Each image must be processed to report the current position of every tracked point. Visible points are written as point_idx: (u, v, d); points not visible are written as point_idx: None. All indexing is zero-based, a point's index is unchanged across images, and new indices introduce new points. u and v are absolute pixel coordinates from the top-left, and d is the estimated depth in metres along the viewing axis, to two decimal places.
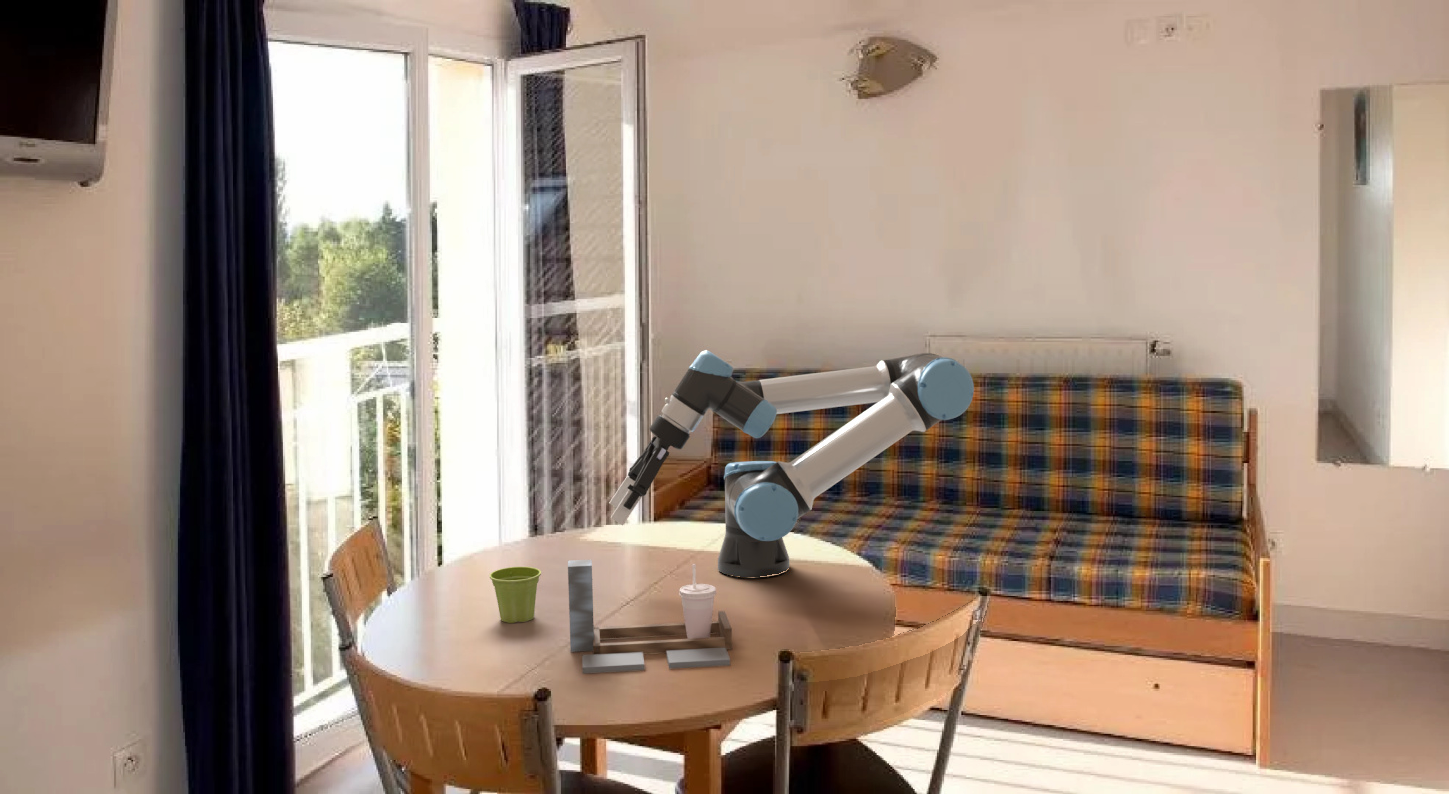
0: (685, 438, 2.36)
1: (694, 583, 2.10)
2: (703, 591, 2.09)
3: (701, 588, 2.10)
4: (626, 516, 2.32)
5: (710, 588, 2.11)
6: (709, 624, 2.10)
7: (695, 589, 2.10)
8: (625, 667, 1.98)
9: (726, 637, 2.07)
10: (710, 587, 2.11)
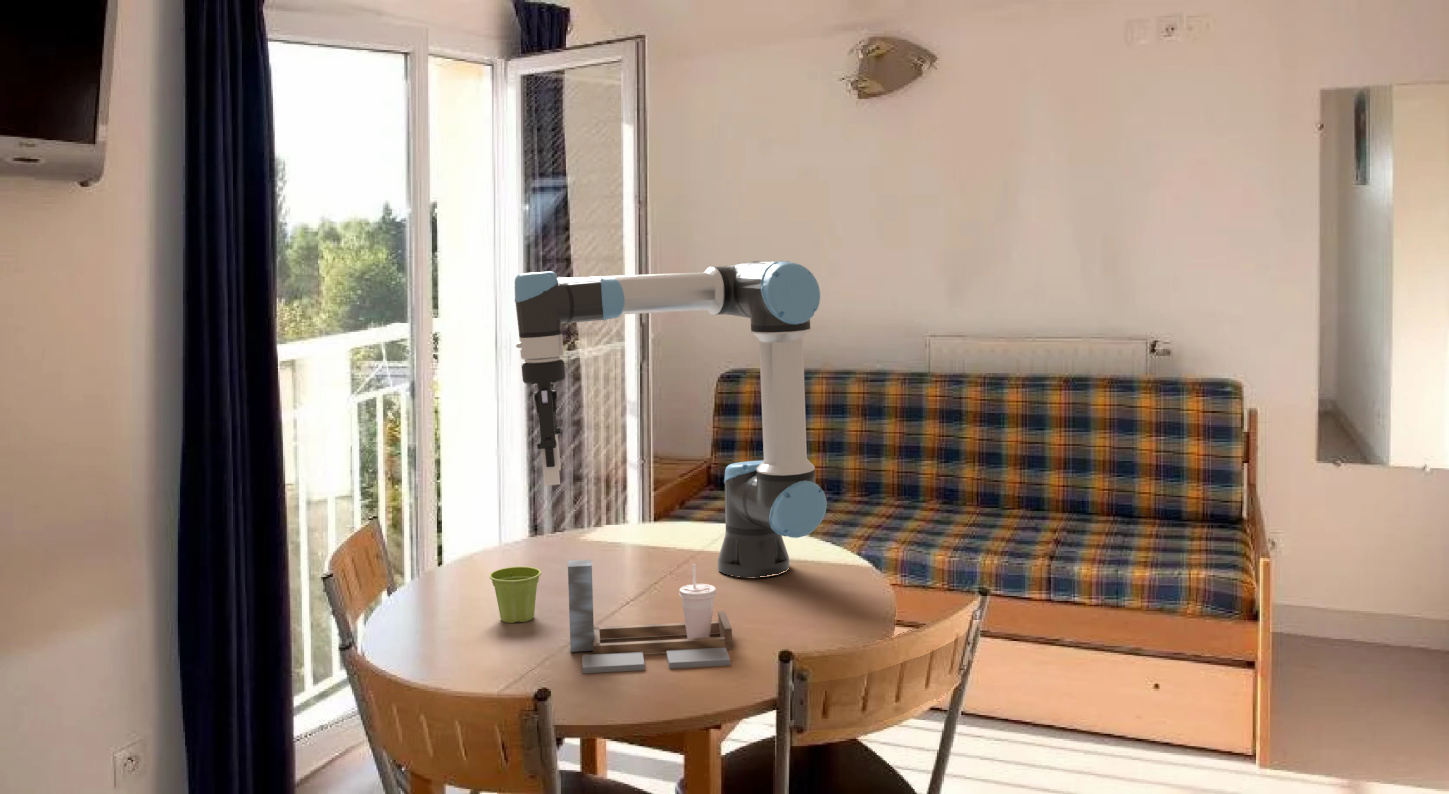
0: (559, 366, 2.15)
1: (694, 583, 2.10)
2: (703, 591, 2.09)
3: (701, 588, 2.10)
4: (557, 474, 2.12)
5: (710, 588, 2.11)
6: (709, 624, 2.10)
7: (695, 589, 2.10)
8: (625, 667, 1.98)
9: (726, 637, 2.07)
10: (710, 587, 2.11)
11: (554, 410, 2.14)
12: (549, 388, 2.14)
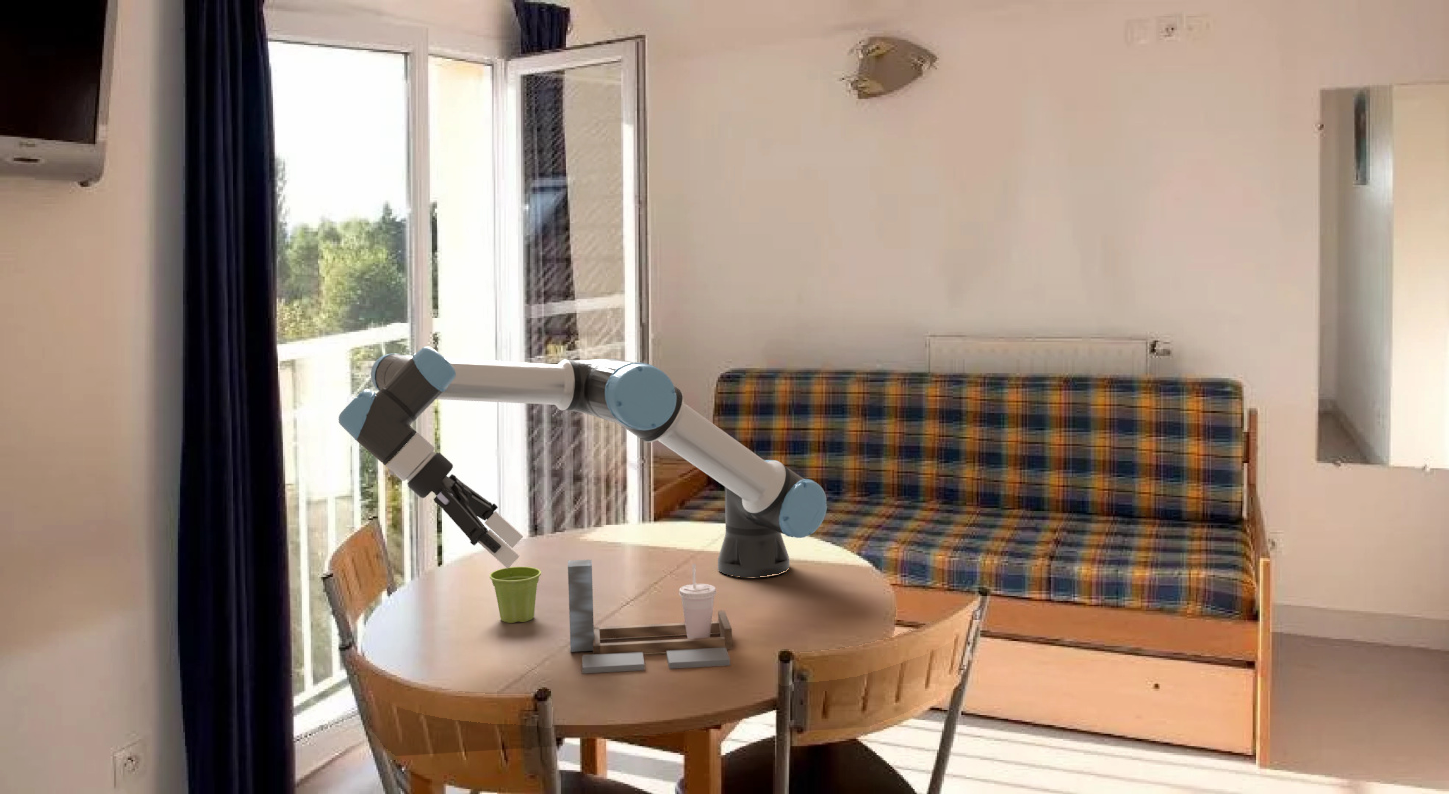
0: (437, 462, 2.00)
1: (694, 583, 2.10)
2: (703, 591, 2.09)
3: (701, 588, 2.10)
4: (509, 550, 1.99)
5: (710, 588, 2.11)
6: (709, 624, 2.10)
7: (695, 589, 2.10)
8: (625, 667, 1.98)
9: (726, 637, 2.07)
10: (710, 587, 2.11)
11: (463, 500, 2.00)
12: (443, 486, 2.00)
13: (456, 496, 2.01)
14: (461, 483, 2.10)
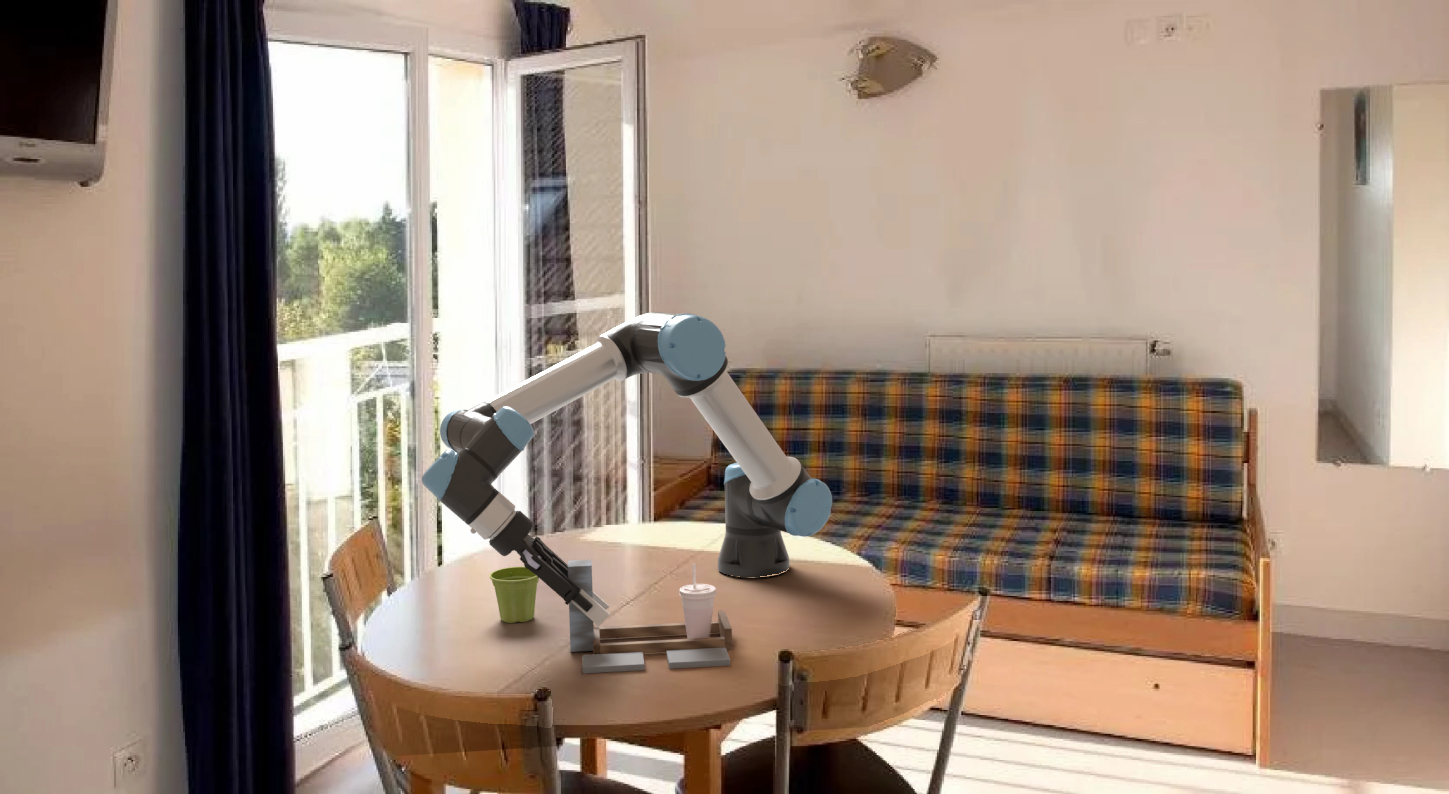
0: (518, 521, 2.03)
1: (694, 583, 2.10)
2: (703, 591, 2.09)
3: (701, 588, 2.10)
4: (600, 609, 2.06)
5: (710, 588, 2.11)
6: (709, 624, 2.10)
7: (695, 589, 2.10)
8: (625, 667, 1.98)
9: (726, 637, 2.07)
10: (710, 587, 2.11)
11: (550, 561, 2.04)
12: (526, 545, 2.02)
13: (538, 554, 2.03)
14: (544, 545, 2.12)
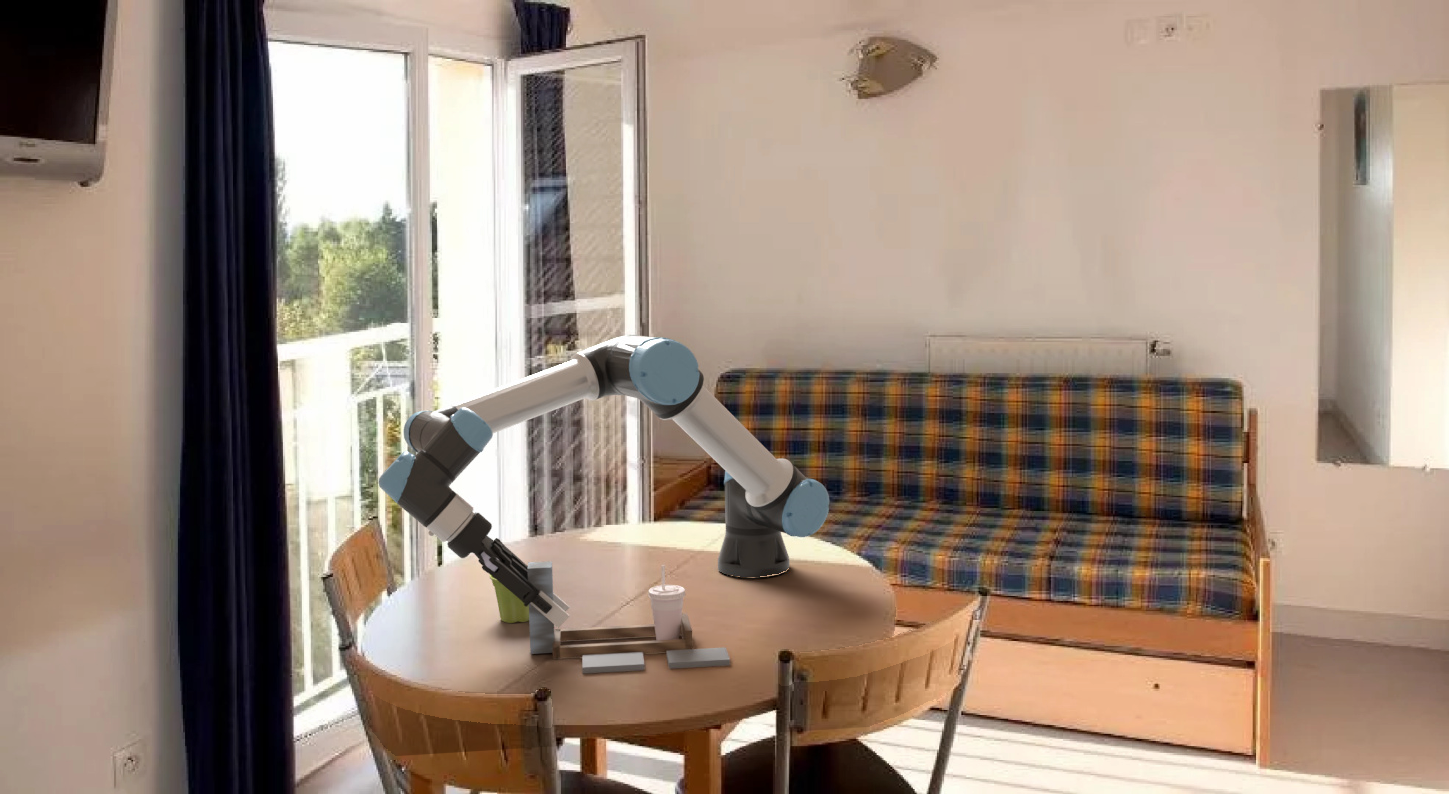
0: (476, 523, 2.02)
1: (663, 584, 2.10)
2: (671, 592, 2.09)
3: (670, 589, 2.10)
4: (559, 610, 2.05)
5: (679, 589, 2.10)
6: (678, 625, 2.10)
7: (664, 590, 2.09)
8: (625, 667, 1.98)
9: (686, 639, 2.06)
10: (680, 588, 2.11)
11: (508, 563, 2.03)
12: (484, 547, 2.02)
13: (496, 556, 2.03)
14: (504, 547, 2.11)
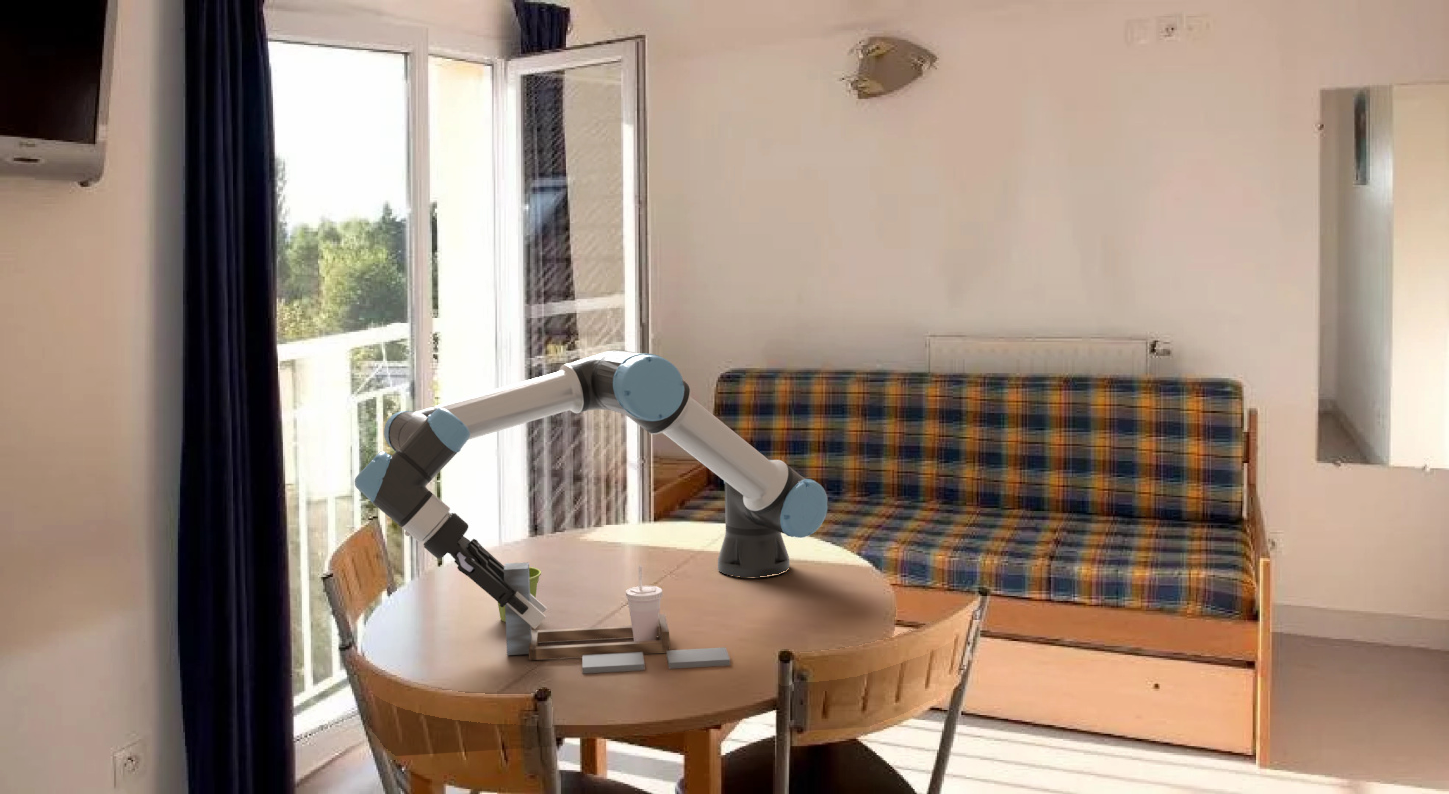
0: (452, 523, 2.02)
1: (640, 585, 2.09)
2: (648, 593, 2.08)
3: (647, 590, 2.09)
4: (536, 611, 2.05)
5: (657, 590, 2.10)
6: (655, 627, 2.09)
7: (641, 591, 2.09)
8: (625, 667, 1.98)
9: (663, 640, 2.06)
10: (657, 589, 2.10)
11: (485, 563, 2.03)
12: (460, 548, 2.01)
13: (472, 557, 2.02)
14: (481, 547, 2.10)
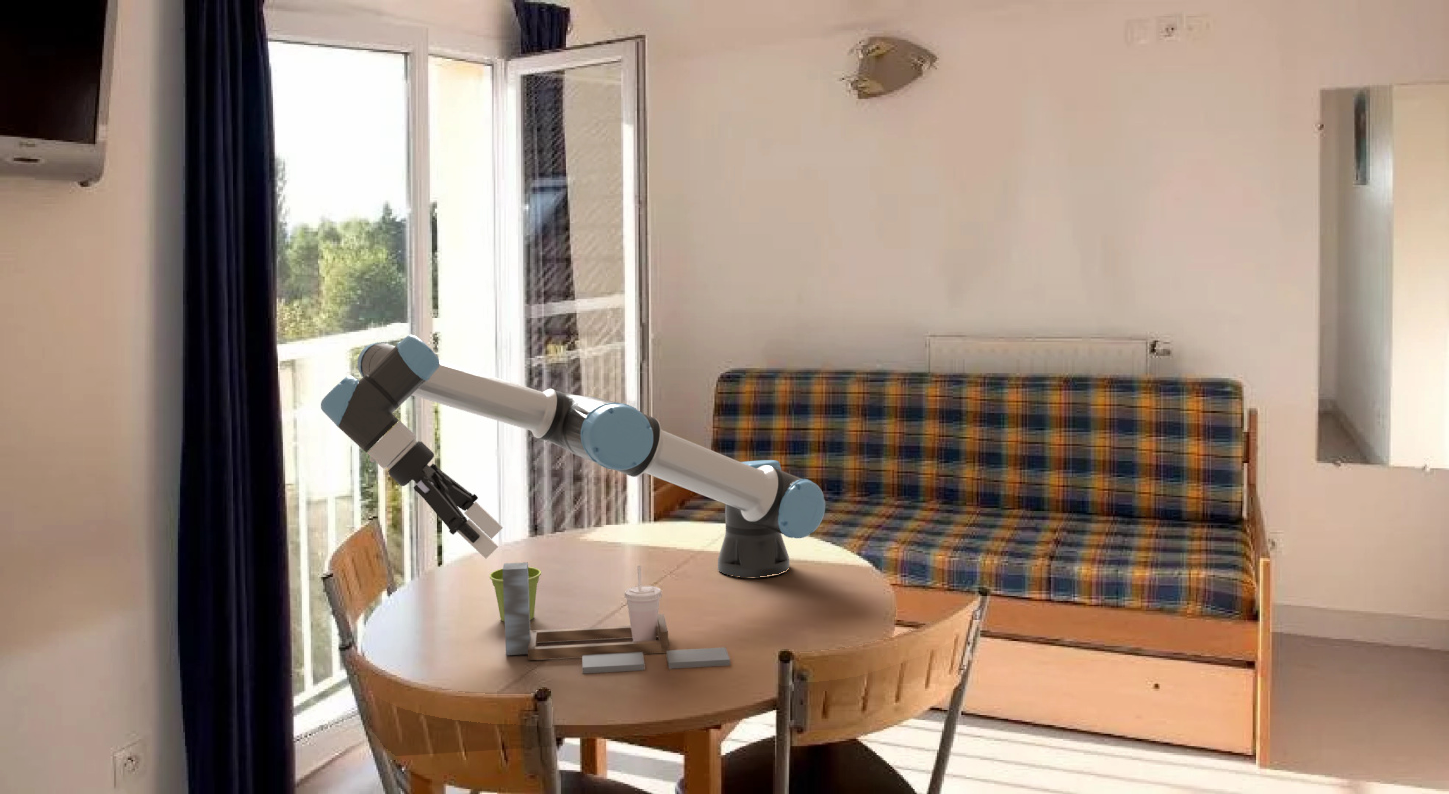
0: (418, 450, 2.00)
1: (639, 585, 2.09)
2: (647, 593, 2.08)
3: (646, 590, 2.09)
4: (488, 540, 1.99)
5: (656, 591, 2.10)
6: (654, 627, 2.09)
7: (640, 591, 2.09)
8: (625, 667, 1.98)
9: (662, 640, 2.06)
10: (656, 590, 2.10)
11: (443, 489, 2.00)
12: (424, 475, 2.00)
13: (436, 485, 2.01)
14: (442, 473, 2.10)
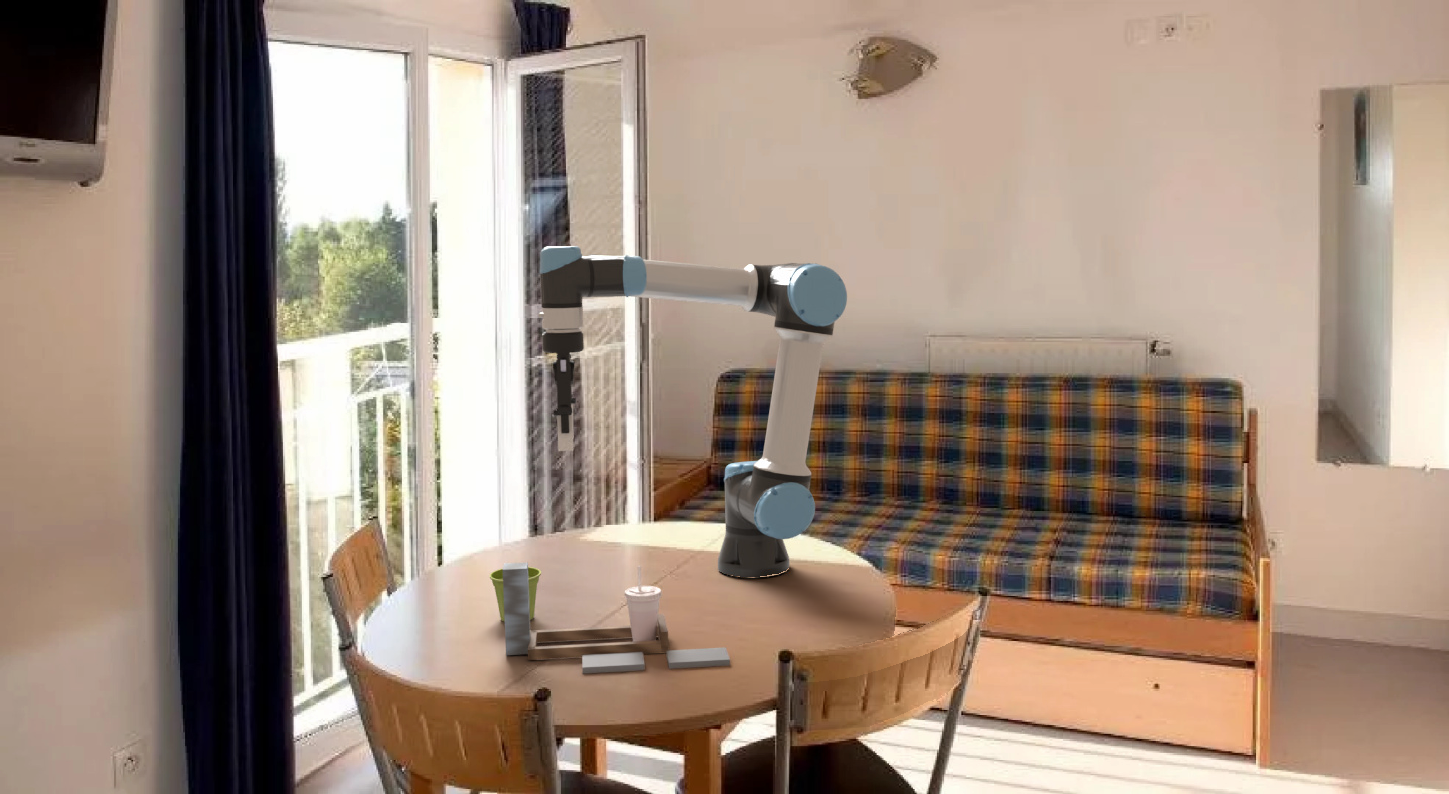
0: (578, 337, 2.23)
1: (639, 585, 2.09)
2: (647, 593, 2.08)
3: (646, 590, 2.09)
4: (571, 440, 2.21)
5: (656, 591, 2.10)
6: (654, 627, 2.09)
7: (639, 591, 2.09)
8: (625, 667, 1.98)
9: (662, 640, 2.06)
10: (656, 590, 2.10)
11: (571, 379, 2.22)
12: (568, 358, 2.22)
13: None
14: None
